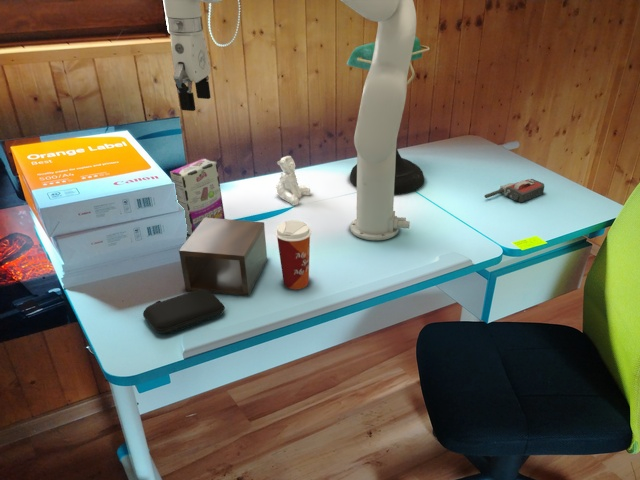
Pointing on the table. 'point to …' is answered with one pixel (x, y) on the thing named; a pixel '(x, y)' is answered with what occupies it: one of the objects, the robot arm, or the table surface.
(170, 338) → the table surface
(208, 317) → the carrying case
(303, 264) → the paper cup
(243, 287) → the shelf
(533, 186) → the walkie-talkie
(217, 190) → the candy bar box
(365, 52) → the banker's lamp
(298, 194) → the seated beast figurine
